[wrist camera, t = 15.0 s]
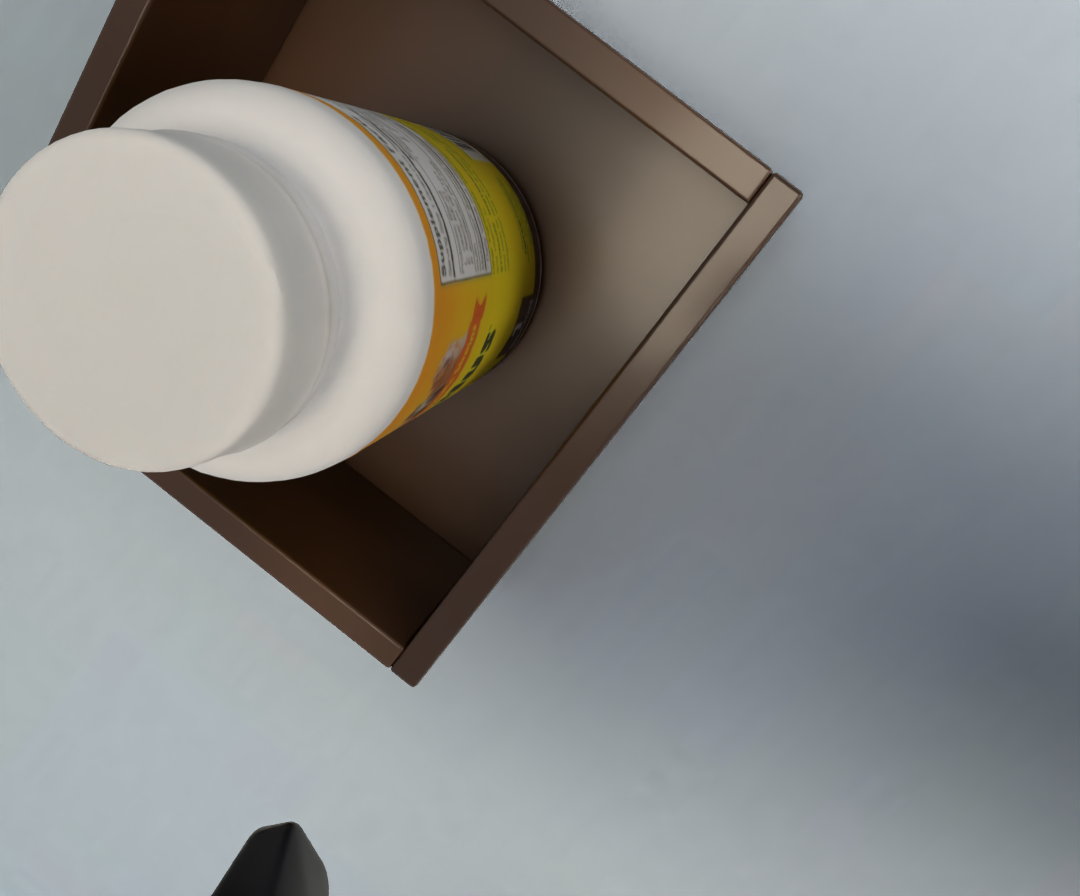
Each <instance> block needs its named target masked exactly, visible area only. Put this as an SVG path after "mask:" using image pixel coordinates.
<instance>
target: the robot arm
mask: <svg viewBox="0 0 1080 896" xmlns="http://www.w3.org/2000/svg"><path fill="white" fill-rule="evenodd" d="M211 896H329V885H328V877H327V872H326V869H325V866H324V864H323V862H322V860H321V859H320V857H319V856H318V854H317V852H316V851H315V849H314V847H313V846H312V844H311V842H310V841H309V839H308V838H307V836H306V834H305V833H304V831H303V829H302V828H301V827H300V825H299V824H297V823H295V822H285V823H280V824H275V825H270V826H264V827H261V828H259V829H257V830H256V831H255V832H254V833H253V834H252V835H251V836H250V837H249V838H248V840H247V841H246V843H245V844H244V846H243V848H242V849H241V851H240V852H239V854H238V855H237V857H236V858H235V860H234V861H233V863H232V865H231V866H230V868H229V869H228V871H227V872H226V874H225V875H224V877H223V878H222V880H221V882H220V883H219V885H218V886H217V888H216V889H215V891H214V892H213V894H212V895H211Z"/></svg>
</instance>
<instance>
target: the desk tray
mask: <svg viewBox="0 0 1080 896" xmlns="http://www.w3.org/2000/svg"><path fill="white" fill-rule="evenodd" d="M215 79H239V80H248V81H254V82H263V83H268V84H273V85H278V86H282V87H285V88H289V89H292V90H296V91H300V92H303V93H307V94H311V95H314V96H318V97H322V98H325V99H329V100H333V101H336V102H340V103H344V104H348V105H351V106H356V107H359V108H362V109H366V110H369V111H373V112H377V113H381V114H385V115H388V116H391V117H395V118H399V119H402V120H405V121H409V122H412V123H416V124H419V125H422V126H426V127H429V128H433V129H437V130H440V131H443V132H446V133H449V134H452V135H454V136H457V137H459V138H461V139H464V140H466V141H467V142H469V143H471V144H473V145H475V146H476V147H478V148H479V149H481V150H482V151H484V152H485V153H486V154H488V155H489V156H490V157H491V158H493V159H494V160H495V161H496V162H497V163H498V164H499V165H500V166H501V167H502V168H503V169H504V170H505V171H506V172H507V174H508V175H509V176H510V177H511V178H512V180H513V181H514V182H515V184H516V185H517V187H518V188H519V190H520V191H521V193H522V195H523V196H524V198H525V200H526V202H527V204H528V206H529V208H530V211H531V213H532V216H533V219H534V222H535V225H536V228H537V232H538V236H539V242H540V249H541V261H542V273H541V283H540V290H539V295H538V300H537V304H536V307H535V309H534V312H533V315H532V317H531V319H530V321H529V324H528V326H527V328H526V330H525V332H524V333H523V335H522V337H521V338H520V340H519V341H518V343H517V344H516V346H515V347H514V348H513V349H512V351H511V352H510V353H509V354H508V355H507V356H506V357H505V358H504V359H503V360H502V361H501V362H500V363H499V364H498V365H497V366H496V367H495V368H493V369H492V370H491V371H490V372H488V373H487V374H486V375H484V376H483V377H481V378H480V379H478V380H477V381H475V382H473V383H472V384H470V385H469V386H467V387H465V388H464V389H462V390H460V391H459V392H457V393H456V394H454V395H452V396H451V397H449V398H447V399H446V400H444V401H442V402H441V403H439V404H437V405H435V406H434V407H433V408H431V409H429V410H427V411H425V412H424V413H422V414H421V415H419V416H418V417H416V418H414V419H412V420H411V421H409V422H408V423H406V424H404V425H403V426H401V427H399V428H398V429H396V430H394V431H393V432H391V433H389V434H387V435H386V436H384V437H383V438H381V439H379V440H378V441H376V442H374V443H373V444H371V445H369V446H368V447H366V448H364V449H363V450H361V451H360V452H358V453H357V454H355V455H354V456H352V457H351V458H348V459H346V460H344V461H342V462H340V463H337V464H335V465H333V466H331V467H328V468H326V469H324V470H321V471H319V472H316V473H313V474H310V475H307V476H303V477H299V478H294V479H289V480H283V481H271V482H245V481H236V480H230V479H225V478H220V477H216V476H212V475H208V474H205V473H201V472H199V471H197V470H194V469H192V468H190V467H189V468H185V469H180V470H174V471H168V472H142V473H143V474H144V475H146V476H147V477H148V478H149V479H151V480H152V481H153V482H154V483H156V484H157V485H158V486H160V487H161V488H162V489H163V490H165V491H166V492H167V493H168V494H170V495H171V496H172V497H173V498H175V499H176V500H177V501H178V502H180V503H181V504H182V505H183V506H185V507H186V508H187V509H188V510H190V511H191V512H192V513H193V514H195V515H196V516H197V517H199V518H200V519H201V520H202V521H204V522H205V523H206V524H207V525H209V526H210V527H211V528H212V529H214V530H215V531H216V532H217V533H219V534H220V535H221V536H222V537H224V538H225V539H226V540H227V541H229V542H230V543H231V544H232V545H234V546H235V547H236V548H238V549H239V550H240V551H241V552H243V553H244V554H245V555H246V556H248V557H249V558H250V559H251V560H253V561H254V562H255V563H256V564H258V565H259V566H260V567H261V568H263V569H264V570H265V571H266V572H268V573H269V574H270V575H272V576H273V577H274V578H275V579H277V580H278V581H279V582H280V583H282V584H283V585H284V586H285V587H287V588H288V589H289V590H290V591H292V592H293V593H294V594H295V595H297V596H298V597H299V598H300V599H302V600H303V601H304V602H305V603H307V604H308V605H309V606H311V607H312V608H313V609H314V610H316V611H317V612H318V613H319V614H321V615H322V616H323V617H324V618H326V619H327V620H328V621H329V622H331V623H332V624H333V625H334V626H336V627H337V628H338V629H339V630H341V631H342V632H343V633H345V634H346V635H347V636H348V637H350V638H351V639H352V640H353V641H355V642H356V643H357V644H358V645H360V646H361V647H362V648H363V649H365V650H366V651H367V652H368V653H370V654H371V655H372V656H373V657H375V658H376V659H377V660H378V661H380V662H381V663H382V664H384V665H385V666H386V667H391V666H392V667H391V670H392V672H394V673H395V674H396V675H397V676H399V677H400V678H401V679H402V680H404V681H405V682H406V683H407V684H409V685H410V686H412V687H414V686H416V685H417V684H418V683H419V682H420V680H421V679H422V678H423V677H424V675H425V674H426V673H427V672H428V670H429V669H430V668H431V667H432V665H433V664H434V663H435V661H436V660H437V659H438V658H439V656H440V655H441V654H442V653H443V651H444V650H445V649H446V648H447V646H448V645H449V644H450V643H451V641H452V640H453V639H454V637H455V636H456V635H457V634H458V632H459V631H460V630H461V629H462V627H463V626H464V625H465V624H466V622H467V621H468V620H469V619H470V617H471V616H472V615H473V613H474V612H475V611H476V610H477V608H478V607H479V606H480V605H481V603H482V602H483V601H484V600H485V598H486V597H487V596H488V595H489V593H490V592H491V591H492V589H493V588H494V587H495V586H496V584H497V583H498V582H499V581H500V579H501V578H502V577H503V576H504V574H505V573H506V572H507V571H508V569H509V568H510V567H511V565H512V564H513V563H514V562H515V560H516V559H517V558H518V557H519V555H520V554H521V553H522V552H523V550H524V549H525V548H526V547H527V545H528V544H529V543H530V541H531V540H532V539H533V538H534V536H535V535H536V534H537V533H538V531H539V530H540V529H541V528H542V526H543V525H544V524H545V523H546V521H547V520H548V519H549V517H550V516H551V515H552V514H553V512H554V511H555V510H556V509H557V507H558V506H559V505H560V504H561V502H562V501H563V500H564V499H565V497H566V496H567V495H568V493H569V492H570V491H571V490H572V488H573V487H574V486H575V485H576V483H577V482H578V481H579V480H580V478H581V477H582V476H583V475H584V473H585V472H586V471H587V469H588V468H589V467H590V466H591V464H592V463H593V462H594V461H595V459H596V458H597V457H598V456H599V454H600V453H601V452H602V451H603V449H604V448H605V447H606V445H607V444H608V443H609V442H610V440H611V439H612V438H613V437H614V435H615V434H616V433H617V432H618V430H619V429H620V428H621V427H622V425H623V424H624V423H625V421H626V420H627V419H628V418H629V416H630V415H631V414H632V413H633V411H634V410H635V409H636V408H637V406H638V405H639V404H640V403H641V401H642V400H643V399H644V397H645V396H646V395H647V394H648V392H649V391H650V390H651V389H652V387H653V386H654V385H655V384H656V382H657V381H658V380H659V379H660V377H661V376H662V375H663V373H664V372H665V371H666V370H667V368H668V367H669V366H670V365H671V363H672V362H673V361H674V360H675V358H676V357H677V356H678V355H679V353H680V352H681V351H682V350H683V348H684V347H685V346H686V344H687V343H688V342H689V341H690V339H691V338H692V337H693V336H694V334H695V333H696V332H697V331H698V329H699V328H700V327H701V326H702V324H703V323H704V322H705V320H706V319H707V318H708V317H709V315H710V314H711V313H712V312H713V310H714V309H715V308H716V307H717V305H718V304H719V303H720V302H721V300H722V299H723V298H724V296H725V295H726V294H727V293H728V291H729V290H730V289H731V288H732V286H733V285H734V284H735V283H736V281H737V280H738V279H739V278H740V276H741V275H742V274H743V272H744V271H745V270H746V269H747V267H748V266H749V265H750V264H751V262H752V261H753V260H754V259H755V257H756V256H757V255H758V254H759V252H760V251H761V250H762V248H763V247H764V246H765V245H766V243H767V242H768V241H769V240H770V238H771V237H772V236H773V235H774V233H775V232H776V231H777V230H778V228H779V227H780V226H781V224H782V223H783V222H784V221H785V219H786V218H787V217H788V216H789V214H790V213H791V212H792V211H793V209H794V208H795V207H796V206H797V204H798V203H799V202H800V200H801V199H802V197H803V193H802V192H801V191H800V190H799V189H798V188H796V187H795V186H794V185H792V184H791V183H790V182H788V181H787V180H786V179H784V178H783V177H782V176H780V175H779V174H778V173H772V170H771V168H770V167H769V166H767V165H766V164H765V163H763V162H762V161H761V160H759V159H758V158H757V157H756V156H754V155H753V154H752V153H750V152H749V151H748V150H746V149H745V148H744V147H742V146H741V145H740V144H738V143H737V142H736V141H734V140H733V139H732V138H730V137H729V136H728V135H727V134H725V133H724V132H723V131H721V130H720V129H719V128H717V127H716V126H715V125H713V124H712V123H711V122H709V121H708V120H707V119H705V118H704V117H703V116H702V115H700V114H699V113H698V112H696V111H695V110H694V109H692V108H691V107H690V106H688V105H687V104H686V103H684V102H683V101H682V100H680V99H679V98H678V97H676V96H675V95H674V94H673V93H671V92H670V91H669V90H667V89H666V88H665V87H663V86H662V85H661V84H659V83H658V82H657V81H655V80H654V79H653V78H651V77H650V76H649V75H647V74H646V73H645V72H644V71H642V70H641V69H640V68H638V67H637V66H636V65H634V64H633V63H632V62H630V61H629V60H628V59H626V58H625V57H624V56H622V55H621V54H620V53H618V52H617V51H616V50H615V49H613V48H612V47H611V46H609V45H608V44H607V43H605V42H604V41H603V40H601V39H600V38H599V37H597V36H596V35H595V34H593V33H592V32H591V31H590V30H588V29H587V28H586V27H584V26H583V25H582V24H580V23H579V22H578V21H576V20H575V19H574V18H572V17H571V16H570V15H568V14H567V13H566V12H564V11H563V10H562V9H561V8H559V7H558V6H557V5H555V4H554V3H553V2H551V1H550V0H116V1H115V3H114V5H113V7H112V9H111V12H110V14H109V16H108V18H107V20H106V22H105V25H104V27H103V29H102V31H101V33H100V35H99V37H98V40H97V42H96V44H95V46H94V48H93V50H92V53H91V55H90V57H89V59H88V61H87V63H86V66H85V68H84V70H83V72H82V74H81V76H80V78H79V81H78V83H77V85H76V87H75V89H74V91H73V94H72V96H71V98H70V100H69V102H68V104H67V107H66V109H65V111H64V113H63V115H62V117H61V119H60V122H59V124H58V126H57V128H56V130H55V132H54V135H53V137H52V139H51V141H50V143H49V145H51V144H52V143H54V142H56V141H58V140H60V139H63V138H65V137H67V136H69V135H72V134H76V133H79V132H82V131H86V130H91V129H97V128H110V127H111V126H112V125H113V124H114V123H115V122H116V121H117V120H118V119H119V118H120V117H121V116H122V115H124V114H125V113H127V112H128V111H129V110H131V109H132V108H133V107H135V106H137V105H138V104H140V103H142V102H143V101H145V100H147V99H149V98H150V97H153V96H155V95H157V94H159V93H161V92H163V91H165V90H168V89H172V88H175V87H178V86H182V85H185V84H189V83H193V82H199V81H204V80H215ZM49 145H48V146H49ZM771 173H772V174H771Z"/></svg>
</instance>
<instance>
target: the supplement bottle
mask: <svg viewBox="0 0 1080 896" xmlns="http://www.w3.org/2000/svg"><path fill="white" fill-rule="evenodd" d="M541 273H542V261H541V249H540V242H539V236H538V232H537V228H536V225H535V222H534V219H533V216H532V213H531V211H530V208H529V206H528V204H527V202H526V200H525V198H524V196H523V195H522V193H521V191H520V190H519V188H518V187H517V185H516V184H515V182H514V181H513V180H512V178H511V177H510V176H509V175H508V174H507V172H506V171H505V170H504V169H503V168H502V167H501V166H500V165H499V164H498V163H497V162H496V161H495V160H494V159H493V158H491V157H490V156H489V155H488V154H486V153H485V152H484V151H482V150H481V149H479V148H478V147H476V146H475V145H473V144H471V143H469V142H467V141H466V140H464V139H461V138H459V137H457V136H454V135H452V134H449V133H446V132H443V131H440V130H437V129H433V128H429V127H426V126H422V125H419V124H416V123H412V122H409V121H405V120H402V119H399V118H395V117H391V116H388V115H385V114H381V113H377V112H373V111H369V110H366V109H362V108H359V107H356V106H351V105H348V104H344V103H340V102H336V101H333V100H329V99H325V98H322V97H318V96H314V95H311V94H307V93H303V92H300V91H296V90H292V89H289V88H285V87H282V86H278V85H273V84H268V83H263V82H254V81H248V80H239V79H215V80H204V81H199V82H193V83H189V84H185V85H182V86H178V87H175V88H172V89H168V90H165V91H163V92H161V93H159V94H157V95H155V96H153V97H150V98H149V99H147V100H145V101H143V102H142V103H140V104H138V105H137V106H135V107H133V108H132V109H131V110H129V111H128V112H127V113H125V114H124V115H122V116H121V117H120V118H119V119H118V120H117V121H116V122H115V123H114V124H113V125H112V126H111V127H110V128H97V129H91V130H86V131H82V132H79V133H76V134H72V135H69V136H67V137H65V138H63V139H60V140H58V141H56V142H54V143H52V144H51V145H49V146H47V147H46V148H44V149H42V150H40V151H39V152H38V153H37V154H36V155H34V156H33V157H32V158H31V159H29V160H28V161H27V162H26V163H25V164H24V165H23V166H22V167H21V168H20V169H19V171H18V172H17V173H16V174H15V175H14V176H13V177H12V179H11V180H10V181H9V182H8V184H7V186H6V187H5V189H4V191H3V192H2V194H1V196H0V363H1V365H2V367H3V369H4V371H5V373H6V375H7V377H8V379H9V381H10V382H11V384H12V386H13V387H14V389H15V390H16V392H17V393H18V395H19V396H20V397H21V399H22V400H23V401H24V403H25V404H26V405H27V406H28V408H29V409H30V410H31V411H32V412H33V414H34V415H35V416H36V417H37V418H38V419H39V420H40V421H41V422H42V423H43V424H44V425H45V426H46V427H47V428H48V429H49V430H50V431H51V432H53V433H54V434H55V435H56V436H57V437H59V438H60V439H61V440H63V441H64V442H65V443H67V444H68V445H70V446H71V447H73V448H75V449H76V450H78V451H80V452H82V453H84V454H85V455H87V456H90V457H92V458H94V459H96V460H98V461H100V462H103V463H105V464H108V465H111V466H114V467H118V468H122V469H127V470H134V471H141V472H168V471H174V470H180V469H185V468H189V467H190V468H192V469H194V470H197V471H199V472H201V473H205V474H208V475H212V476H216V477H220V478H225V479H230V480H236V481H245V482H271V481H283V480H289V479H294V478H299V477H303V476H307V475H310V474H313V473H316V472H319V471H321V470H324V469H326V468H328V467H331V466H333V465H335V464H337V463H340V462H342V461H344V460H346V459H348V458H351V457H352V456H354V455H355V454H357V453H358V452H360V451H361V450H363V449H364V448H366V447H368V446H369V445H371V444H373V443H374V442H376V441H378V440H379V439H381V438H383V437H384V436H386V435H387V434H389V433H391V432H393V431H394V430H396V429H398V428H399V427H401V426H403V425H404V424H406V423H408V422H409V421H411V420H412V419H414V418H416V417H418V416H419V415H421V414H422V413H424V412H425V411H427V410H429V409H431V408H433V407H434V406H435V405H437V404H439V403H441V402H442V401H444V400H446V399H447V398H449V397H451V396H452V395H454V394H456V393H457V392H459V391H460V390H462V389H464V388H465V387H467V386H469V385H470V384H472V383H473V382H475V381H477V380H478V379H480V378H481V377H483V376H484V375H486V374H487V373H488V372H490V371H491V370H492V369H493V368H495V367H496V366H497V365H498V364H499V363H500V362H501V361H502V360H503V359H504V358H505V357H506V356H507V355H508V354H509V353H510V352H511V351H512V349H513V348H514V347H515V346H516V344H517V343H518V341H519V340H520V338H521V337H522V335H523V333H524V332H525V330H526V328H527V326H528V324H529V321H530V319H531V317H532V315H533V312H534V309H535V307H536V304H537V300H538V295H539V290H540V283H541Z"/></svg>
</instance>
